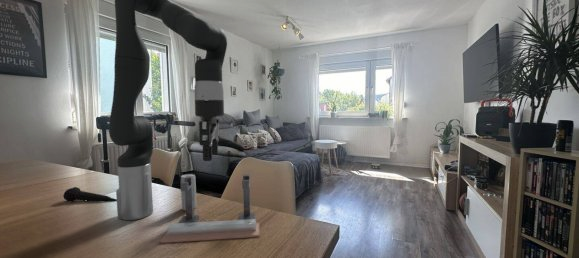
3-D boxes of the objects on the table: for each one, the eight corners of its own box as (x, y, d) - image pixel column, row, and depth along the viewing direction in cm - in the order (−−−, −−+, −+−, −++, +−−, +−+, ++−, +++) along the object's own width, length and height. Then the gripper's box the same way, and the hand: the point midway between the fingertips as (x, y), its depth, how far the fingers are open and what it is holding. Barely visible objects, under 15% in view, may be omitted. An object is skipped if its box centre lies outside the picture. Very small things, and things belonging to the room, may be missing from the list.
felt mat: (160, 243, 64) (160, 240, 64) (170, 230, 71) (170, 228, 71) (259, 236, 67) (259, 234, 67) (259, 224, 74) (259, 222, 74)
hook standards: (176, 228, 72) (174, 182, 71) (183, 219, 78) (181, 176, 77) (254, 223, 75) (253, 179, 74) (254, 215, 81) (254, 174, 80)
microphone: (119, 207, 96) (69, 200, 96) (123, 192, 97) (74, 186, 98) (109, 208, 91) (57, 201, 91) (113, 192, 92) (62, 186, 92)
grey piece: (191, 211, 84) (190, 177, 83) (178, 210, 85) (177, 177, 84) (199, 206, 89) (198, 174, 88) (187, 205, 89) (186, 173, 89)
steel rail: (167, 236, 67) (167, 227, 66) (170, 231, 69) (170, 223, 69) (255, 230, 69) (255, 222, 69) (255, 226, 72) (255, 218, 72)
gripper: (201, 99, 73) (203, 153, 74) (187, 97, 59) (189, 163, 60) (227, 100, 74) (228, 152, 75) (219, 97, 60) (220, 162, 61)
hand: (211, 157), depth 67 cm, fingers open, 8 cm apart
